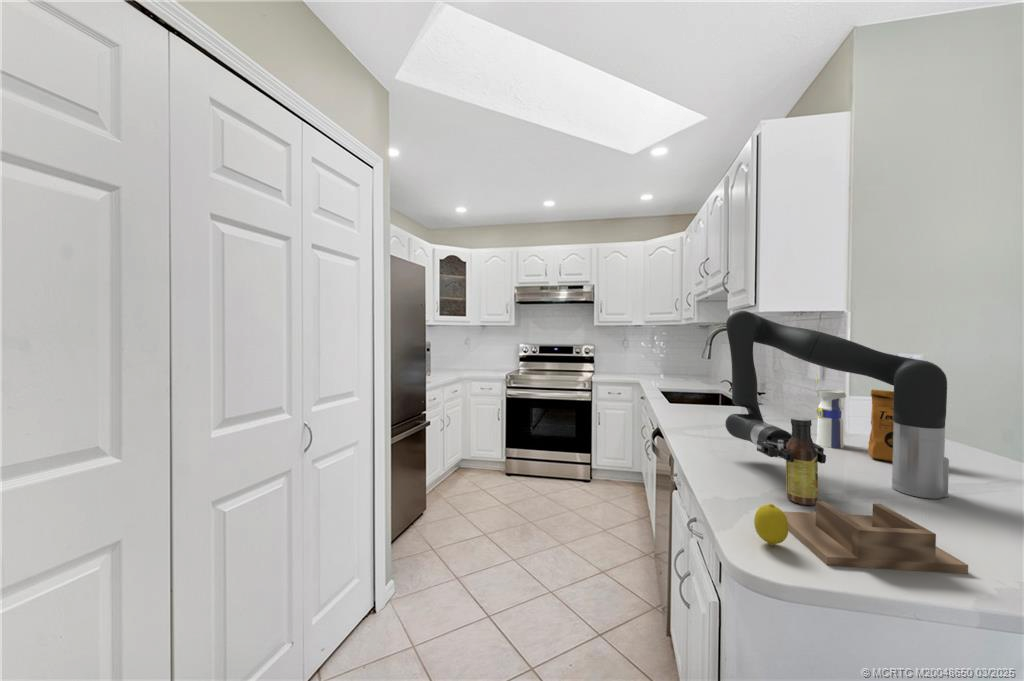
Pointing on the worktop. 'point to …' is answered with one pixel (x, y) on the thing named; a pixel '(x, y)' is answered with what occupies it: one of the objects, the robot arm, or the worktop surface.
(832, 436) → the white and blue bottle
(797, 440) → the sauce bottle
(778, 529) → the lemon
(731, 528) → the worktop surface
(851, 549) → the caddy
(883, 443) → the coffee package
